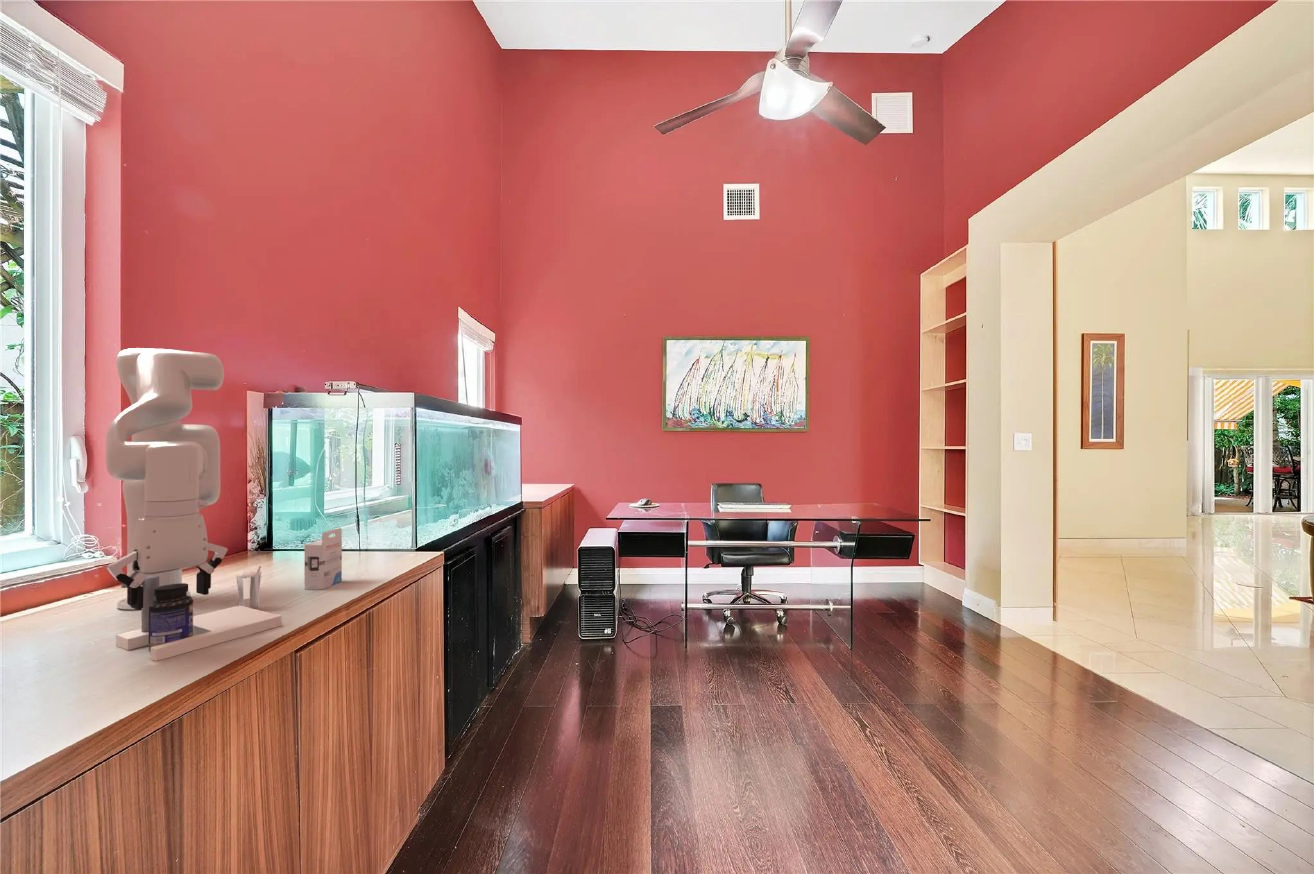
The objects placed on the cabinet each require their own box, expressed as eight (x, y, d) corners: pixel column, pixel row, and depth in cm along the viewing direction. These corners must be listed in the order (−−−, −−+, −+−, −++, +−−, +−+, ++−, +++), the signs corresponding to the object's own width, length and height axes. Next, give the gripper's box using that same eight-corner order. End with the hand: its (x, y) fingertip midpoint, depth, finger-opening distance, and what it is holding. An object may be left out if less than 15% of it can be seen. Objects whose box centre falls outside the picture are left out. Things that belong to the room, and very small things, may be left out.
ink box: (324, 581, 145) (324, 527, 145) (342, 581, 145) (342, 527, 145) (303, 590, 136) (303, 532, 136) (322, 589, 136) (322, 532, 136)
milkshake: (250, 613, 117) (250, 568, 117) (230, 612, 118) (230, 567, 118) (269, 607, 122) (269, 563, 122) (250, 605, 123) (250, 562, 123)
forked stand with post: (115, 645, 98) (116, 580, 99) (239, 614, 116) (240, 559, 117) (155, 661, 91) (156, 591, 91) (281, 625, 109) (281, 567, 109)
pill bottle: (198, 643, 99) (199, 584, 100) (155, 654, 94) (156, 592, 94) (185, 637, 102) (185, 580, 103) (142, 648, 97) (143, 587, 97)
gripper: (217, 502, 108) (215, 586, 108) (99, 513, 93) (98, 610, 93) (236, 505, 105) (235, 591, 105) (117, 517, 89) (116, 618, 89)
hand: (171, 600), depth 99 cm, fingers open, 9 cm apart
